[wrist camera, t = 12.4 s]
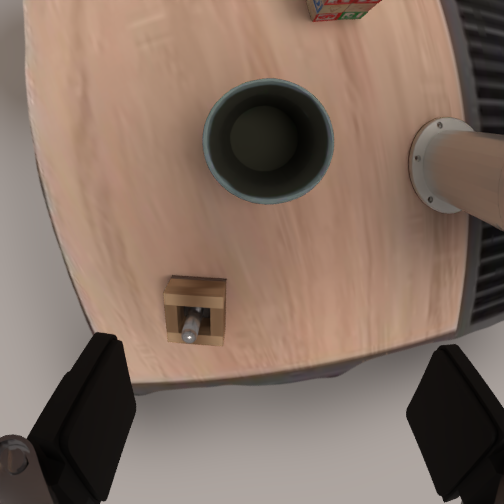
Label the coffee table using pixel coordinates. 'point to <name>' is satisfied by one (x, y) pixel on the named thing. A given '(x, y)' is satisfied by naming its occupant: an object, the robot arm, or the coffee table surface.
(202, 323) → the square wooden ring
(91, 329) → the coffee table surface
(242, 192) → the teal cup
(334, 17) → the stack of blocks
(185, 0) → the coffee table surface
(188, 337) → the peg stand
